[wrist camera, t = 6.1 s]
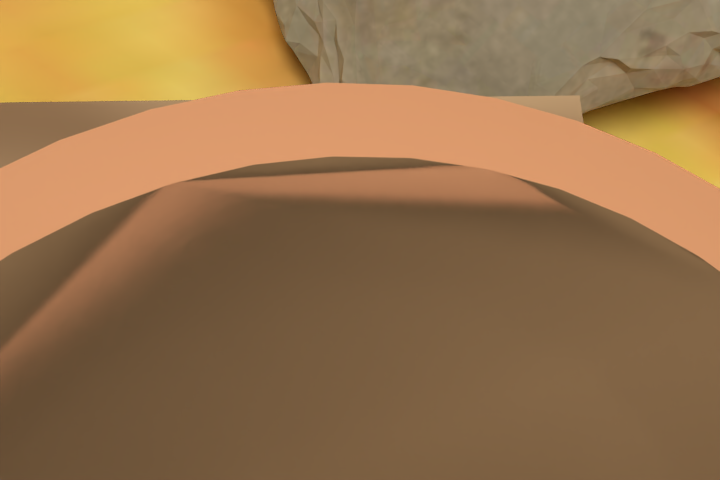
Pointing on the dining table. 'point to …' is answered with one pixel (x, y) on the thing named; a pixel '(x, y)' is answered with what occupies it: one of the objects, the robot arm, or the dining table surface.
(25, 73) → the dining table surface
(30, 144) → the cold frame
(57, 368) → the pink cup
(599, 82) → the stone
